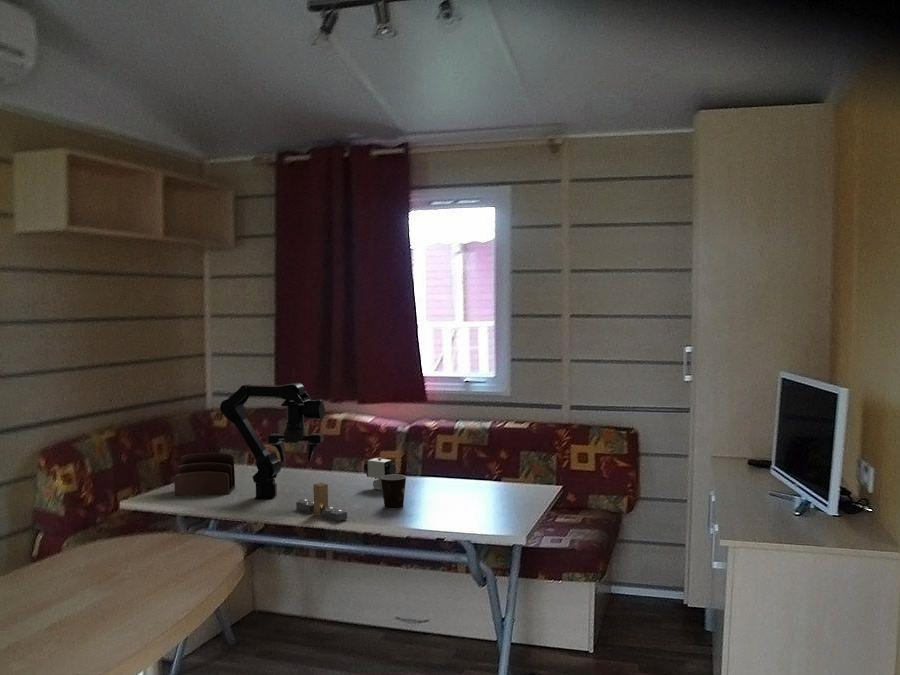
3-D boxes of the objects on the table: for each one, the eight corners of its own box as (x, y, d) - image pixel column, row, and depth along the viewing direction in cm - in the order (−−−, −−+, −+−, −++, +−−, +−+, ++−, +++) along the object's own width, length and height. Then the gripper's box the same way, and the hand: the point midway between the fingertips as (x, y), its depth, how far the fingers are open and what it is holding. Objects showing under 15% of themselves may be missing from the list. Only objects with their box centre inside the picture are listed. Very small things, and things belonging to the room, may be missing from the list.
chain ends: (296, 509, 266) (296, 500, 265) (306, 507, 268) (306, 497, 268) (336, 522, 249) (336, 512, 249) (347, 519, 252) (346, 510, 252)
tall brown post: (314, 514, 259) (313, 484, 258) (322, 512, 261) (321, 482, 261) (320, 516, 256) (319, 486, 256) (328, 514, 259) (327, 484, 258)
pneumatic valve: (389, 492, 287) (388, 459, 287) (363, 488, 294) (363, 456, 293) (398, 489, 292) (397, 457, 292) (372, 485, 298) (372, 454, 298)
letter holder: (182, 490, 297) (181, 452, 296) (235, 488, 298) (234, 451, 297) (174, 496, 287) (173, 458, 286) (229, 495, 288) (228, 456, 287)
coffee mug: (392, 501, 274) (391, 473, 273) (411, 505, 269) (411, 476, 268) (370, 509, 264) (369, 479, 264) (389, 513, 259) (389, 482, 259)
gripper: (263, 422, 271) (264, 467, 272) (316, 422, 270) (317, 467, 271) (271, 417, 283) (273, 460, 283) (323, 417, 282) (324, 460, 282)
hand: (296, 462), depth 280 cm, fingers open, 9 cm apart
